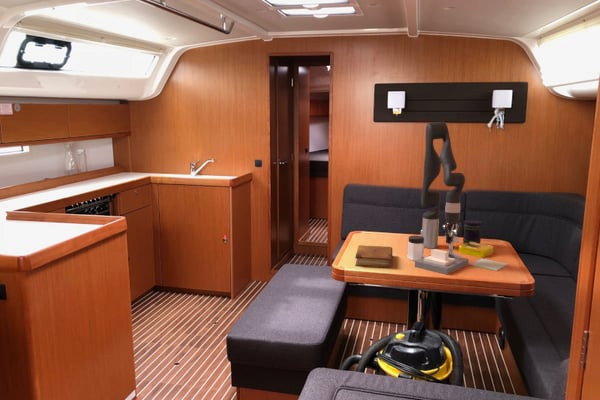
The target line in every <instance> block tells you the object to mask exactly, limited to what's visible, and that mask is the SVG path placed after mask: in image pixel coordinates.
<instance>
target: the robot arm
mask: <svg viewBox="0 0 600 400" xmlns="http://www.w3.org/2000/svg"><path fill="white" fill-rule="evenodd" d="M434 140H442V144H443V145H442V147H441V151H440V154H438V153H437V151H436V148H435V146H434ZM423 161H424V162H423V163H424V164H423V178H422V189H421V193H420V194H421V196H420V204H421V206H422V207H424V208H432V209H430V210H427V211H425V212H423V213H422V227H421V230H420V236H422V237H424V249H425V248H427V249H436V248H438V243H439V242H438V241H439V223H440V205H441V193H440V191H436V190H435V191H434V190H429V189H430V186H431V185H432V184H433V182H434V181H435V180H436V179H437V178H438V177H439V175H440V173H441V170H442V169H443V171H442V172H443V179H442V180H443V183H444V185H445V186H446V187H448V188H449V187H453V189H450V190H448V191H447V192H446V198H445V207H444V208H445V209H444V219H445V224H442V225H441V229H442V233H443V234H442V235H443V236H444V237H445V236H446V238H445V243H446V244H448V245H449V244H450V240H451V237H450V236H451V234H453V235H455V236H457V235H458V234H459V233H460V231H461V227H462V222H459V221H460V217H461V197H462V196H461V194H462V192H463V189H464V186H465V183H466V178H465V175H464V173H462V172H454V171H455V170H456V169H457V168H458V166H457V162H456V159H455V157H454V152H453V149H452V143H451V136H450V133H449V128H448V125H447V123H446V122H445V121H438V122H437V121H435V122H428V123H427V124H426V126H425V150H424V160H423ZM448 233H449V234H448Z"/></svg>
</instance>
